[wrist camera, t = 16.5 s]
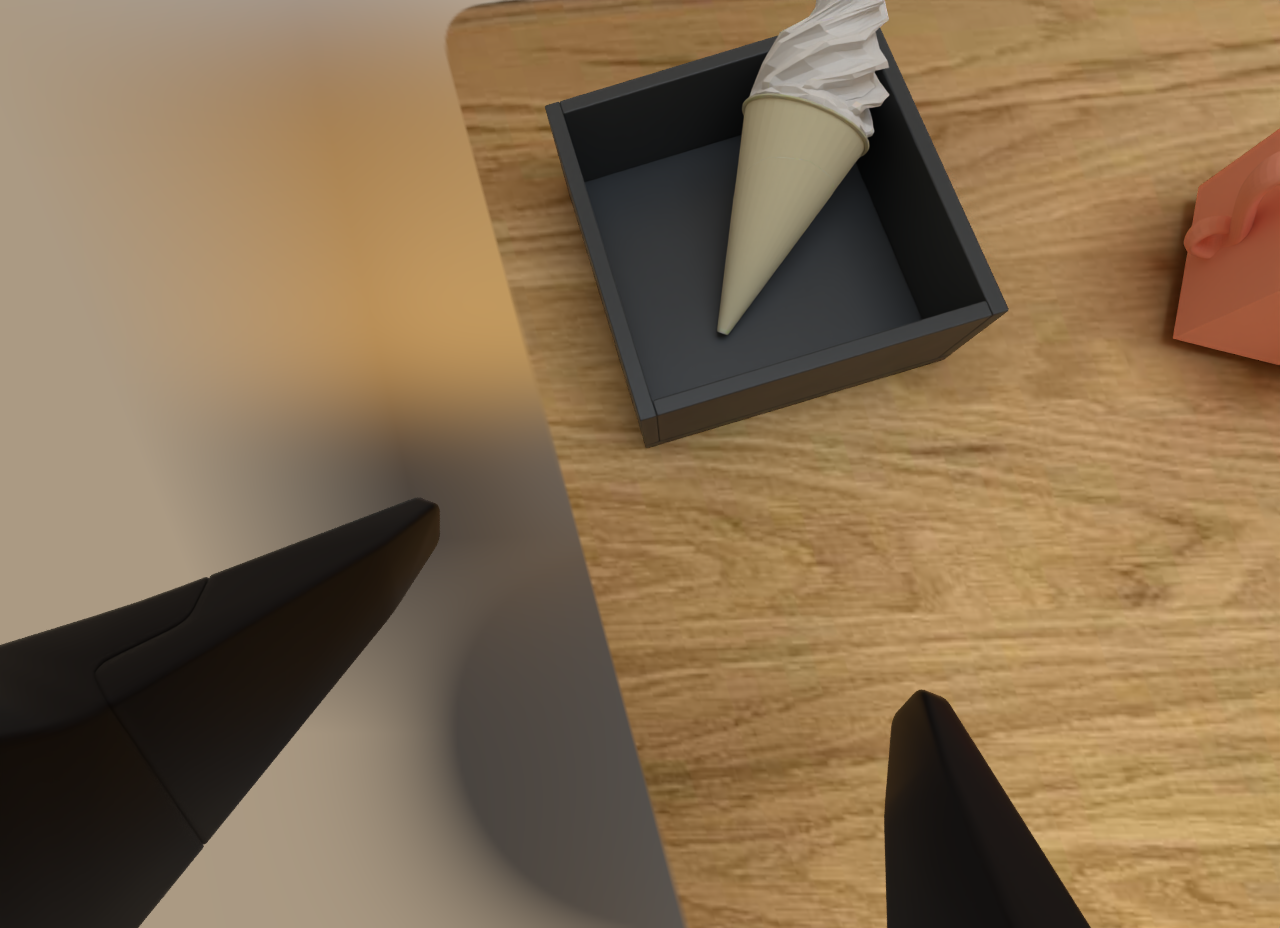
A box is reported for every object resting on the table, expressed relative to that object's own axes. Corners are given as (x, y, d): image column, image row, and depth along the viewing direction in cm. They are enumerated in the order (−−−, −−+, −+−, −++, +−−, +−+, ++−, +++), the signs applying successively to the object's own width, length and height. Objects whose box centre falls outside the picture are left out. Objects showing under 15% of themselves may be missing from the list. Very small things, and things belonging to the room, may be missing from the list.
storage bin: (646, 448, 23) (640, 421, 19) (566, 185, 26) (544, 105, 21) (945, 359, 23) (1010, 310, 19) (836, 104, 26) (871, 6, 21)
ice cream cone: (766, 350, 26) (922, -15, 22) (791, 360, 21) (998, -109, 17) (665, 311, 25) (804, -67, 21) (666, 311, 20) (847, -177, 16)
